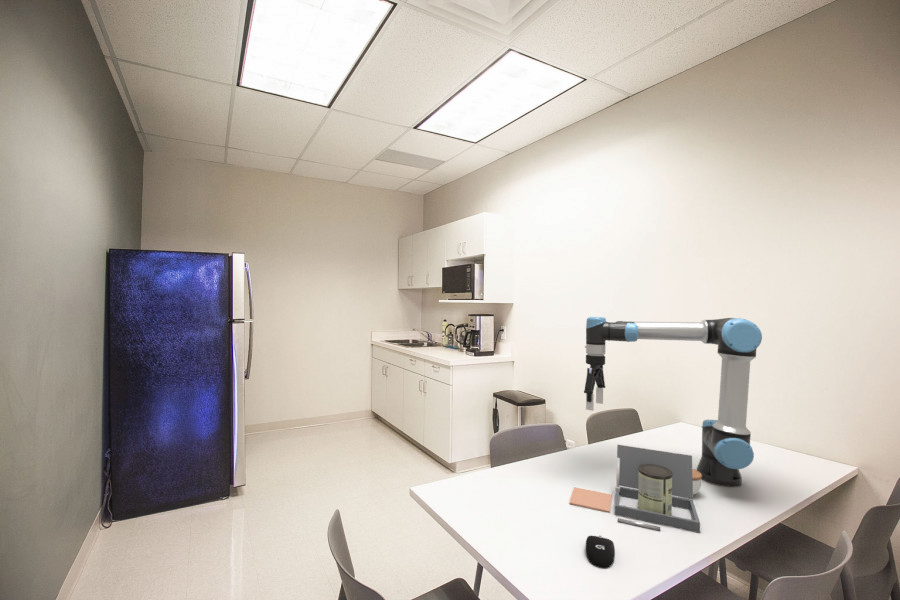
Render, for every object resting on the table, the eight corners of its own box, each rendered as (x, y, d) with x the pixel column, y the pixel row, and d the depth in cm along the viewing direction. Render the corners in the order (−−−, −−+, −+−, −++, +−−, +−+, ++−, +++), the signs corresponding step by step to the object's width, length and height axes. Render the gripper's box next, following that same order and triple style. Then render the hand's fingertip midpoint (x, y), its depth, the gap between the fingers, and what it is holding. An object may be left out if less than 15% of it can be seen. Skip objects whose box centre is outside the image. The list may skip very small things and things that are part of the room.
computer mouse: (584, 565, 108) (584, 550, 108) (586, 540, 119) (586, 527, 119) (615, 572, 105) (615, 556, 105) (614, 546, 116) (614, 532, 116)
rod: (660, 529, 125) (660, 526, 125) (660, 531, 124) (660, 528, 124) (617, 520, 130) (617, 517, 130) (617, 522, 129) (617, 518, 129)
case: (690, 503, 142) (691, 455, 142) (699, 532, 124) (700, 477, 124) (615, 489, 152) (616, 443, 152) (613, 514, 134) (614, 462, 134)
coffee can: (637, 501, 143) (638, 461, 143) (670, 508, 138) (671, 466, 138) (637, 515, 133) (638, 472, 133) (673, 523, 129) (673, 478, 129)
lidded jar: (697, 488, 154) (697, 463, 154) (705, 501, 144) (705, 475, 144) (665, 484, 157) (666, 459, 157) (670, 496, 147) (671, 470, 147)
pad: (611, 496, 146) (611, 494, 146) (609, 512, 134) (609, 511, 134) (574, 488, 152) (574, 487, 152) (569, 504, 140) (569, 502, 140)
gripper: (595, 351, 179) (594, 399, 179) (576, 356, 159) (575, 411, 159) (612, 352, 175) (612, 402, 175) (596, 358, 155) (595, 414, 154)
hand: (594, 406), depth 167 cm, fingers open, 13 cm apart
